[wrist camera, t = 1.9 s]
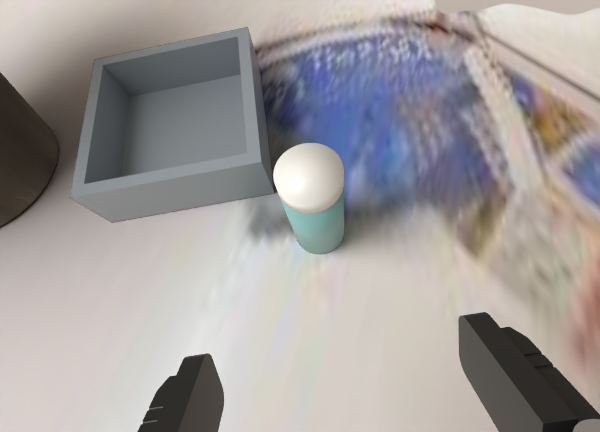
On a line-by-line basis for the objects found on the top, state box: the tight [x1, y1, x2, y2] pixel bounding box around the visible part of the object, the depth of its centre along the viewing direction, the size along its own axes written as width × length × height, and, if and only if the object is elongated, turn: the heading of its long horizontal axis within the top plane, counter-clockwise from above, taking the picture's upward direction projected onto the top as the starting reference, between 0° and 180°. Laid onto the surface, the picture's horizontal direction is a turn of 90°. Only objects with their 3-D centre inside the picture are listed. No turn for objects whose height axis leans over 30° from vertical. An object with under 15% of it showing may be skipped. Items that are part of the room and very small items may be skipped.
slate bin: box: [70, 27, 274, 223], centre depth 36 cm, size 18×18×6 cm
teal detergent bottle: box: [273, 143, 344, 254], centre depth 27 cm, size 5×5×11 cm
